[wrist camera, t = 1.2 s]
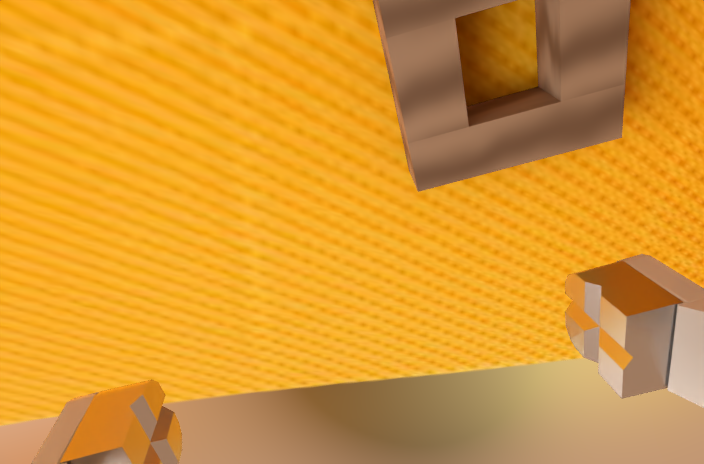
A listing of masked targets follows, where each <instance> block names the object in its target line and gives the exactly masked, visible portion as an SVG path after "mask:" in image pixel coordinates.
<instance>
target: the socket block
mask: <svg viewBox="0 0 704 464" xmlns="http://www.w3.org/2000/svg"><path fill="white" fill-rule="evenodd" d="M512 1H516V0H373V3H374V8H375V13H376V17H377V22H378V27H379V31H380V36H381V41H382V45H383V50H384V55H385V59H386V64H387V69H388V73H389V78H390V83H391V88H392V92H393V97H394V102H395V106H396V111H397V116H398V120H399V125H400V130H401V134H402V139H403V144H404V148H405V153H406V158H407V162H408V167H409V171H410V173H411V176H412V178H413V181H414V183H415V185H416V188H417V190H418V192H419V191H422V190H426V189H430V188H434V187H437V186H441V185H445V184H449V183H452V182H456V181H460V180H464V179H468V178H471V177H475V176H479V175H483V174H486V173H490V172H494V171H498V170H501V169H505V168H509V167H513V166H517V165H520V164H524V163H528V162H532V161H535V160H539V159H543V158H547V157H550V156H554V155H558V154H562V153H566V152H569V151H573V150H577V149H581V148H584V147H588V146H592V145H596V144H599V143H603V142H607V141H611V140H615V139H618V138H622V126H623V110H624V94H625V79H626V63H627V47H628V31H629V16H630V0H535V12H536V38H537V63H538V87H535V88H532V89H528V90H525V91H521V92H517V93H514V94H510V95H507V96H503V97H499V98H496V99H492V100H489V101H485V102H481V103H478V104H474V105H471V106H467V107H466V100H465V93H464V85H463V77H462V69H461V61H460V53H459V46H458V38H457V30H456V22H455V18H458V17H461V16H464V15H468V14H471V13H475V12H478V11H481V10H485V9H488V8H492V7H495V6H499V5H502V4H505V3H509V2H512Z"/></svg>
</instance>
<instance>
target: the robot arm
mask: <svg viewBox="0 0 704 464" xmlns="http://www.w3.org/2000/svg"><path fill="white" fill-rule="evenodd" d="M565 293H566V294H567V295H568V296H569V297H570V298H571V299H572V300H573V301H572V302H571V304H570V305H569V307H568V308H567V310H566V312H565V315H566V327H567V330H568V333H569V336H570V339H571V341H572V343H573V344H574V346H575V348H576V349H577V350H578V351H579V352H580V354H581V355H582V356H583V357H584V358H587V359H589V360H592V361H594V362H597V363H599V365H598V366H599V367H598V368H599V369H598V373H599V374H600V375H601V377H602V378H603V379H604V380H605V381H606V382H607V383H608V384H609V385H610V386H611V387H612V389H613V390H614V391H615V392H616V393H617V394H618V395H619V396H620V397H621V398H626V397H630V396H635V395H639V394H643V393H648V392H652V391H656V390H660V389H665V388H668V391H671V392H672V393H675V394H677V395H679V396H681V397H683V398H685V399H687V400H689V401H691V402H693V403H695V404H697V405H700V406H701V407H703V408H704V289H703V288H702V287H700V286H699V285H697V284H695V283H694V282H692V281H690V280H689V279H687V278H686V277H684V276H682V275H681V274H679V273H677V272H676V271H674V270H673V269H671V268H669V267H668V266H666V265H664V264H663V263H661V262H660V261H658V260H656V259H655V258H653V257H651V256H649V255H643V254H641V255H637V256H634V257H630V258H627V259H623V260H620V261H617V262H616V263H612V264H608V265H604V266H600V267H596V268H592V269H589V270H585V271H581V272H577V273H573V274H569V275H568V276H567V279H566V282H565ZM164 398H165V393H164V392H163V390H162V388H161V386H160V384H159V383H158V382H157V381H154V380H148V381H144V382H140V383H135V384H131V385H127V386H122V387H118V388H114V389H109V390H105V391H101V392H99V393H93V394H89V395H85V396H81V397H77V398H74V399H72V400H71V401H69V402H67V403H66V405H65V407H64V409H63V410H62V412H61V414H60V415H59V417H58V419H57V421H56V423H55V424H54V426H53V428H52V429H51V431H50V433H49V434H48V436H47V438H46V440H45V441H44V443H43V445H42V446H41V448H40V450H39V451H38V453H37V455H36V457H35V458H34V460H33V461H32V463H31V464H178V463H179V461H180V456H181V451H182V433H181V429H180V425H179V422H178V420H177V418H176V415H175V413H174V412H173V411H171V410H169V409H167V408H165V407H163V406H162V404H163V401H164Z"/></svg>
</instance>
